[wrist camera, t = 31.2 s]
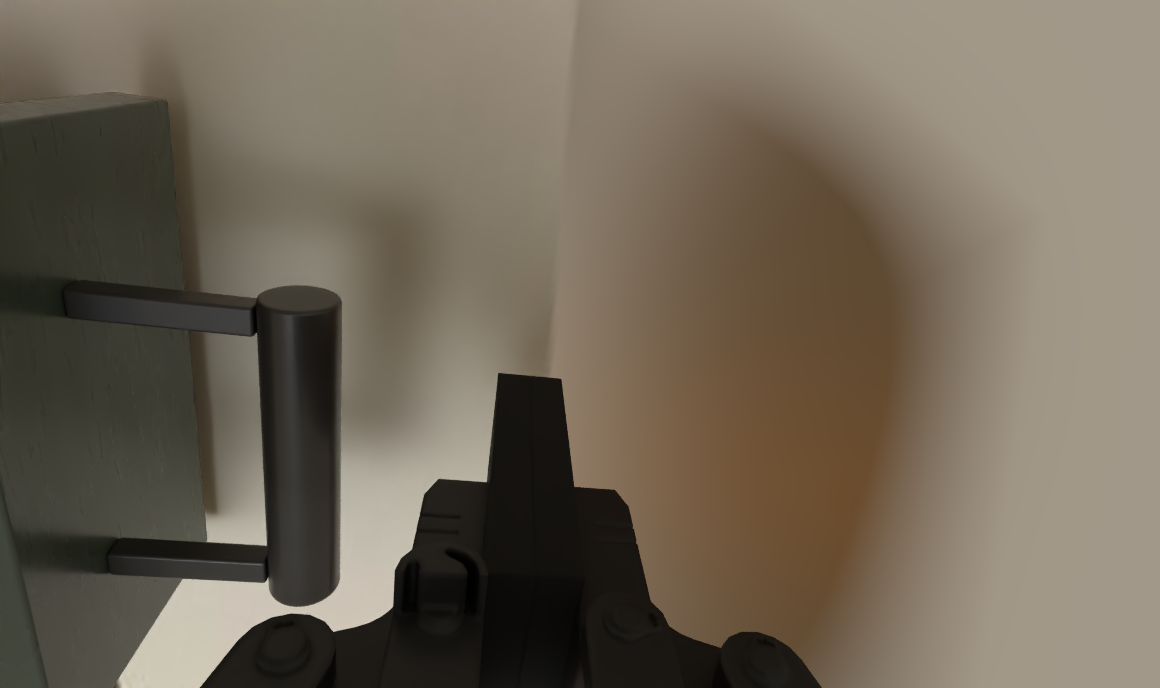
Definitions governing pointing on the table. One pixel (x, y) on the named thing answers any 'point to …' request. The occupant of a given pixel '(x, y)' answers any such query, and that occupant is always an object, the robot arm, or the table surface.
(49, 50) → the table surface
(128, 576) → the drawer
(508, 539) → the robot arm
